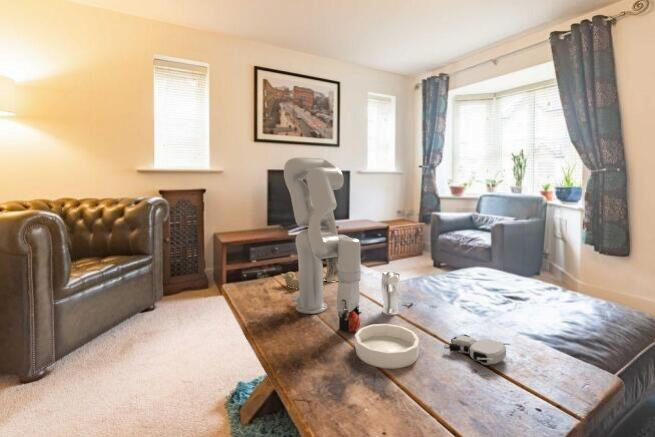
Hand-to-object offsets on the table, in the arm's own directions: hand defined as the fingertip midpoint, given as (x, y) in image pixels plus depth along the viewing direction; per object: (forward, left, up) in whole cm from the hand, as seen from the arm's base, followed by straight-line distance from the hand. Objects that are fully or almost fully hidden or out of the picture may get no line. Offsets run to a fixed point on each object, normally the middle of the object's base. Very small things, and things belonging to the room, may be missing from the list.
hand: (349, 325), depth 111 cm
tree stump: (-29, +52, -2) cm, 60 cm away
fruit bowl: (+15, -9, -2) cm, 18 cm away
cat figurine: (-42, +34, -2) cm, 54 cm away
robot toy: (+39, -1, -2) cm, 39 cm away
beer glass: (+9, +21, -2) cm, 23 cm away
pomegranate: (0, 0, -2) cm, 2 cm away
